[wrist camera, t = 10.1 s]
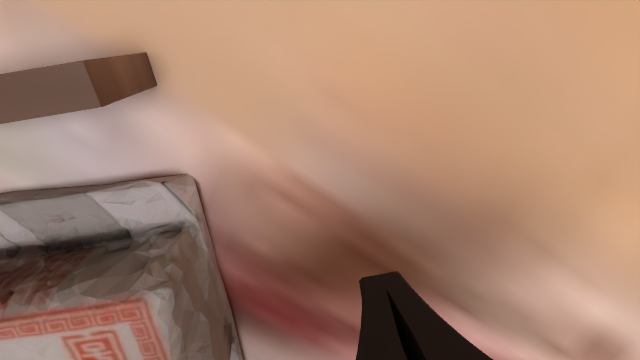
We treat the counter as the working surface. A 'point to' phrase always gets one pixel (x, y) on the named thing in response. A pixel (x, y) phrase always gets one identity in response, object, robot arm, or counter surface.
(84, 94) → the box
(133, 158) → the counter surface
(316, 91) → the counter surface
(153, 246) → the packaged product
